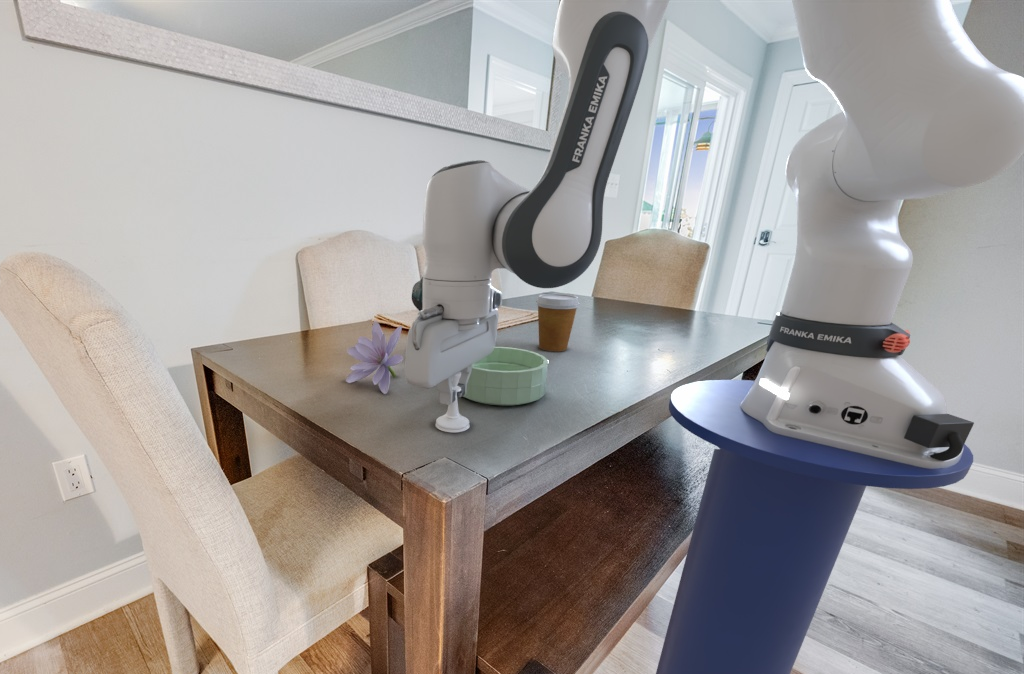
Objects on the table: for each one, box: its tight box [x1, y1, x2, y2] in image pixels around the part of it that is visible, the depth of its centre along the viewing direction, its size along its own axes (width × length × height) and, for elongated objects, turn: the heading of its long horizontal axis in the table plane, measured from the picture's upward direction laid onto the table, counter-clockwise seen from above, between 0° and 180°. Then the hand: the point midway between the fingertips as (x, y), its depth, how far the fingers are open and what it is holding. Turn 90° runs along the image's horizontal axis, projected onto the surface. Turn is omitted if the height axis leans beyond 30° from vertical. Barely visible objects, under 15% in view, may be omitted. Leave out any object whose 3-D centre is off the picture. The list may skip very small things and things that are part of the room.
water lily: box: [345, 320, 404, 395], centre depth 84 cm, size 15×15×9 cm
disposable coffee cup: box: [535, 293, 581, 352], centre depth 106 cm, size 10×10×12 cm
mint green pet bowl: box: [462, 346, 549, 407], centre depth 79 cm, size 16×16×6 cm
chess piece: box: [435, 372, 470, 434], centre depth 65 cm, size 5×5×10 cm
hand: (453, 399), depth 65 cm, fingers closed on chess piece
